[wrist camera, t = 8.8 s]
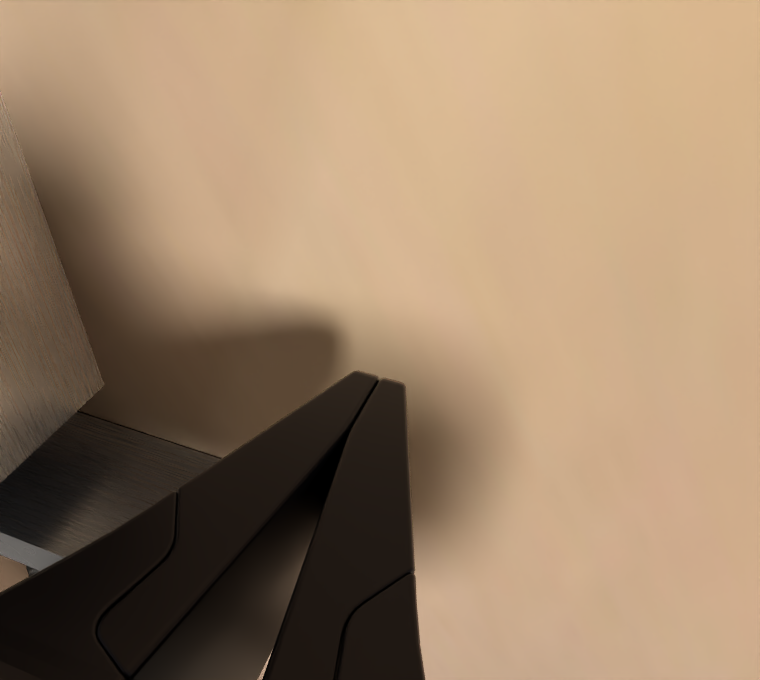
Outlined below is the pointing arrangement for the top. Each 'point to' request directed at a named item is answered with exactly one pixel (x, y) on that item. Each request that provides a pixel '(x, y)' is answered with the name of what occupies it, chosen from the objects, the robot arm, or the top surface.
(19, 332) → the drawer
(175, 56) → the top surface
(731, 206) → the top surface
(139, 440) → the frame
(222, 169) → the top surface
